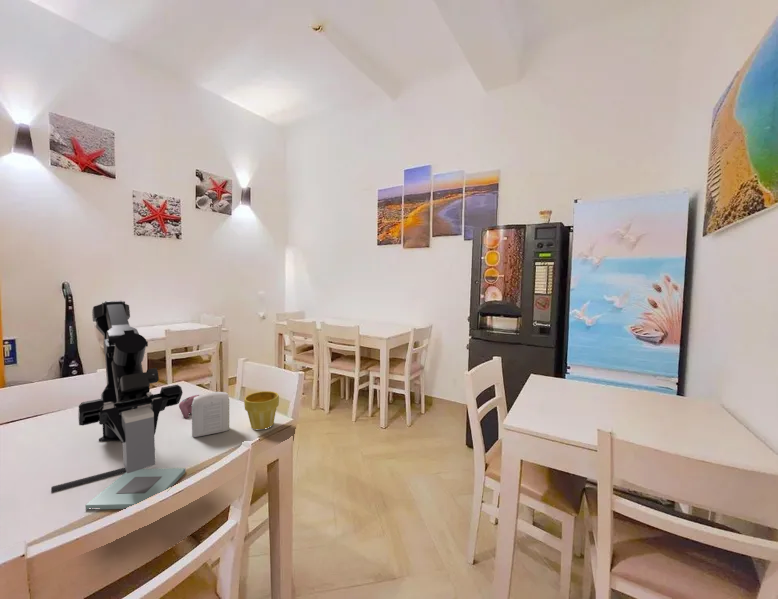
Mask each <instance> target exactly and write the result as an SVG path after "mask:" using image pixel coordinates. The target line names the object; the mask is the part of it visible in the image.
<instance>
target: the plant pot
mask: <svg viewBox="0 0 778 599" xmlns="http://www.w3.org/2000/svg"><path fill="white" fill-rule="evenodd" d="M243 401H244V410H245V411H246V412H247V415H248V420H249V423H250V427H251V429H252V428H253V429H252V430H254V429H265V428H268V427H270V426H272V425H273V426H274V423H275V419H276V418H275V417H276V413H277V412H276V411H277V408H278V407H279V403H280V402H279V401H280V399H279V393H277V392H275V391H269V390H268V391H267V390H265V391H257V392H253V393H250V394H248V395H246V396H245V397H244V400H243ZM273 426H272V427H273ZM270 428H271V427H270ZM268 429H269V428H268ZM265 430H266V429H265Z"/></svg>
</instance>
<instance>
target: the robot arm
mask: <svg viewBox="0 0 778 599" xmlns="http://www.w3.org/2000/svg"><path fill="white" fill-rule="evenodd" d="M130 312H131V311H130V305H129V304H127V303H126V301H124V300H105V301H102V302H101V304H96V305H94V306H93V307H92V311H91V313H92V315H91V316H92V322H95V328H96V329H97V331H98V332H99V333H101V335H102V336H103V352H104V359H105V361H104V362H105V373H106V374H105V375H106V386H105V387H104V389H103V390H102V392H101V393H100V394H101V395H100V398H97V399H93V400H87V401H83V402H81V403H80V404H79V405H78V410H77V412H78V415H77V416H78V425H79V426H86V425H90V424H96V423H98V424H99V425H102V436H101V437H100V438H98V441H99V442H107V441H109V442H110V441H113V442H117V441H118V442H119V441H121V443H122V444H123V443H125V433H124V430H123V426H122V412H123V411H128V410H132V409H137V408H138V406H142V405H146V404H151V405H152V406H151V409H152V411H153V412H154V436H155V435H156V431H157V425H158V421H159V416H160V415H159V414H160V413H161V412H162V411H164V410H166V408H167V407H172V406H177V405H178V404H180V402H181V399H182V395H183V389H182V386H180V385H179V384H173V385H168V386H162V387H161V389H160V392H159V393H155V394H153V395H149V396H148V394H147V393H148V392H151V391H150V390H151V389H150V386H151V385H150V384H156V383H158V382H159V378H160V377H159V372H158V368H157V367H154V368H148V369H147V370H146V372H145V371H144V369H143V364H142V363H143V360H144V358H145V353H146V348H147V347H149V346H148V345H149V342H148V341H147V339H146V338H145V336H143V335H141V334H139V331H138V329H137V328H136V327H133V326H131V325H130V322H129V319H130V318H131V313H130Z"/></svg>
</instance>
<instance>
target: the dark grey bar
mask: <svg viewBox="0 0 778 599" xmlns="http://www.w3.org/2000/svg"><path fill="white" fill-rule="evenodd" d="M125 473H126V469H125V467H124V466H123V467H122V468H121V467H120V468H117V469H114V470H109V471H106V472H103V473H102V472H101V473H98V474H94V475H91V476H87V477H83V478H80V479H77V480H76V479H75V480H72V481H68V482H64V483H61V484H60V483H59V484H57V485H53V486H51V489H50V490H51V491H50V492H51V493H54V492H58V491H61V489H62V490H65V489H69V488H72V486H73V487H76V486H80V485H83V483H84V484H86V483H87V484H88V483H90V482H94V481H98V480H101V479H104V478H106V479H107V478H109V477H112V476H113V477H114V476H117V475H121V474H125ZM57 490H58V491H57Z"/></svg>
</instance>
